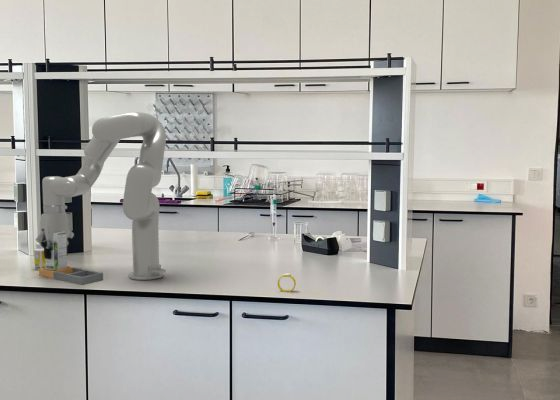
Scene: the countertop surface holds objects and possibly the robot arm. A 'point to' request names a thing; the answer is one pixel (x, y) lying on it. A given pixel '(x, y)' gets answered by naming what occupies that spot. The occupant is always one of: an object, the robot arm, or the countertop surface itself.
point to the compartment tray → (72, 275)
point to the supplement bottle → (39, 257)
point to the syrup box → (57, 252)
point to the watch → (286, 276)
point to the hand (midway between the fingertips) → (56, 256)
